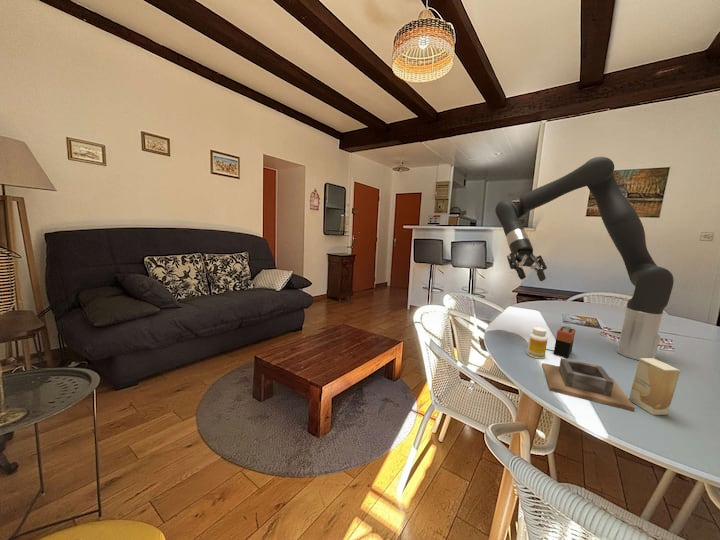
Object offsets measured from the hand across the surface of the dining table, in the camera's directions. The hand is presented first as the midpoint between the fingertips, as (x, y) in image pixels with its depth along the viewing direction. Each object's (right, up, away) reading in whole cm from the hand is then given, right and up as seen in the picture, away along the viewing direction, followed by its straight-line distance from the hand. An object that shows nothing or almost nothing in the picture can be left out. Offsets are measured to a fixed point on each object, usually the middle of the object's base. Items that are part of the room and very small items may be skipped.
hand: (533, 279), depth 106 cm
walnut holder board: (0, -30, -23) cm, 38 cm away
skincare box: (+10, -32, -32) cm, 46 cm away
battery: (+9, -27, -2) cm, 29 cm away
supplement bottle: (-2, -27, -5) cm, 27 cm away
